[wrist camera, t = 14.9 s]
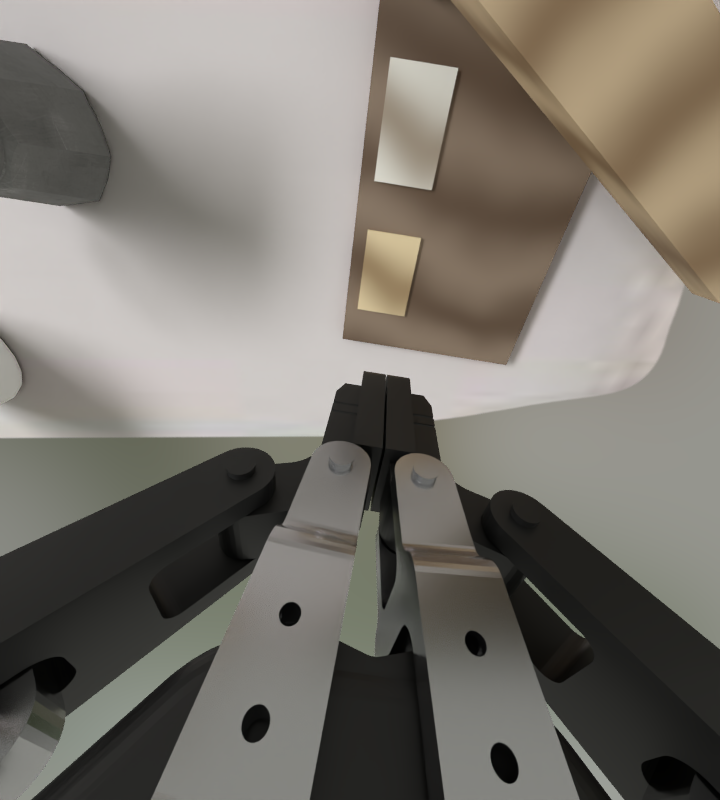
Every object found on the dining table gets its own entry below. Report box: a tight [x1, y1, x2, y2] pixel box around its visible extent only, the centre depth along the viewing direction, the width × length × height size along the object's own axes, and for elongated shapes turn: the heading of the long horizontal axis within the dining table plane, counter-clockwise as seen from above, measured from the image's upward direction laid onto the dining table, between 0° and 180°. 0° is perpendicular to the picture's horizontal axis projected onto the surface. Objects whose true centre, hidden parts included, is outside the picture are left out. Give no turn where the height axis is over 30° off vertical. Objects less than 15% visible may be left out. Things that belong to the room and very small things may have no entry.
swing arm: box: [451, 0, 720, 303], centre depth 14 cm, size 24×5×2 cm, turn 53°
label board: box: [343, 0, 591, 365], centre depth 21 cm, size 24×15×6 cm, turn 172°
